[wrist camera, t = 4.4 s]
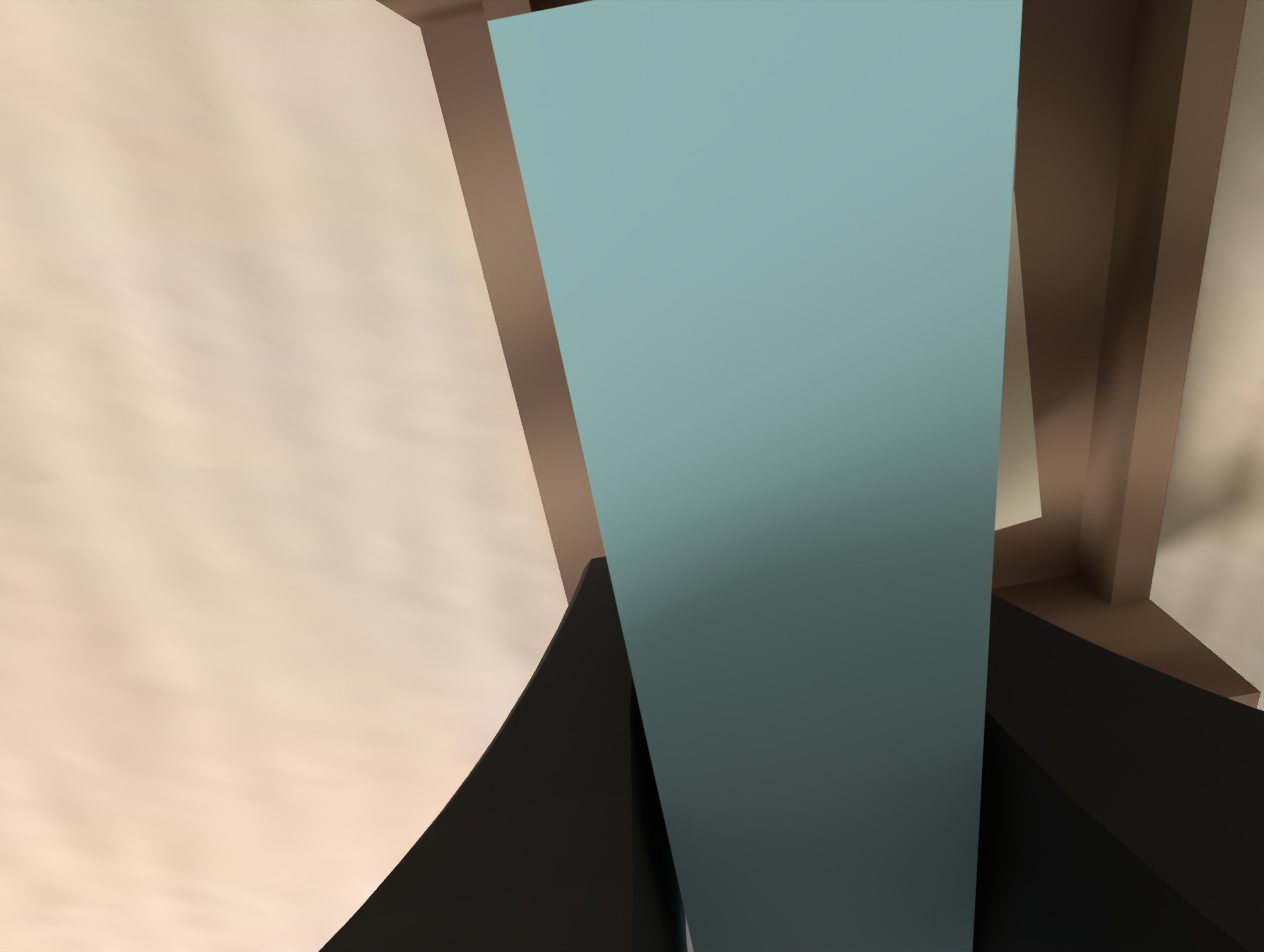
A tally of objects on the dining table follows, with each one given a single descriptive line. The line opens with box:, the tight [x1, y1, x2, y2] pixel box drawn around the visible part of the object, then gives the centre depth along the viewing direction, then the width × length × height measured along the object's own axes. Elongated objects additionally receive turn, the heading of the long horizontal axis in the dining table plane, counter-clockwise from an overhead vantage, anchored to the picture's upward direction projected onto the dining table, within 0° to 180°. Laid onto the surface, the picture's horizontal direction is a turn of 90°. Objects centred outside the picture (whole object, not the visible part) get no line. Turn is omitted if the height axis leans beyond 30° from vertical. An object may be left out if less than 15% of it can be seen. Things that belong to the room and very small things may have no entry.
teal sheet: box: [487, 0, 1023, 952], centre depth 9 cm, size 12×2×9 cm, turn 10°
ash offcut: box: [995, 191, 1042, 530], centre depth 15 cm, size 7×4×2 cm, turn 18°
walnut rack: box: [376, 0, 1261, 708], centre depth 15 cm, size 18×15×6 cm
